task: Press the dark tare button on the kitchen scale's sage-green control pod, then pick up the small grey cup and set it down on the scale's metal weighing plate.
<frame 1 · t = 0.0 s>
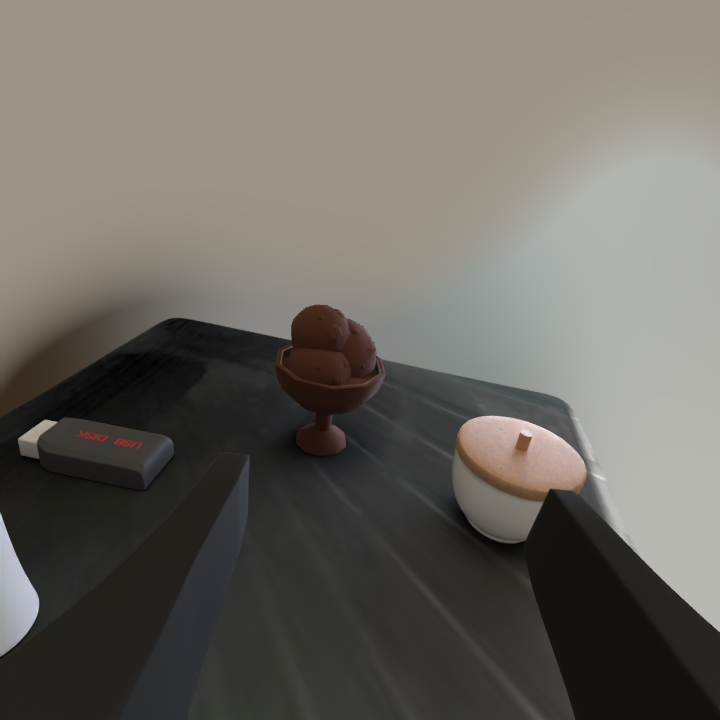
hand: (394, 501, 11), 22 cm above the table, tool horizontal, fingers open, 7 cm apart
ice cream bowl: (320, 441, 50), on the table
usb drive: (97, 461, 43), on the table
trinket box: (496, 519, 43), on the table
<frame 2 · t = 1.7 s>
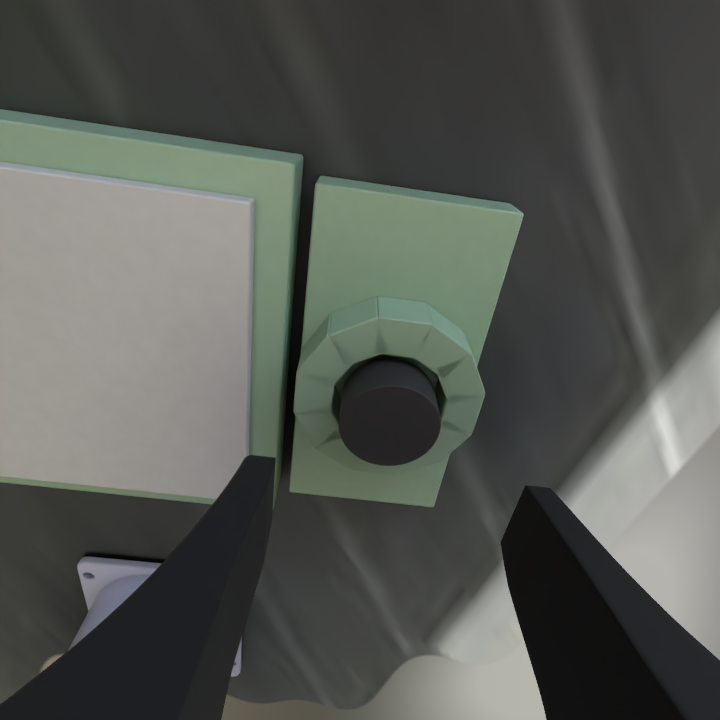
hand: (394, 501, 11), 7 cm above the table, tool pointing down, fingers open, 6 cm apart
scale: (108, 322, 17), on the table
tare button: (388, 412, 14), point 3 cm above the table, slide at 0.1 cm
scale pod: (384, 357, 17), on the table
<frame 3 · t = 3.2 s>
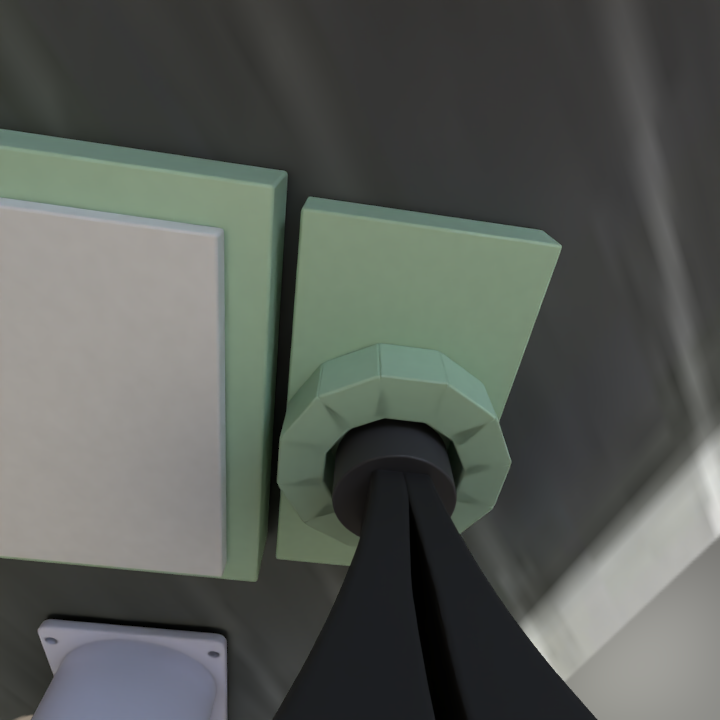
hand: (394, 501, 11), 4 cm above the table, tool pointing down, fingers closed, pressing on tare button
scale: (59, 367, 14), on the table
tare button: (392, 480, 12), point 3 cm above the table, slide at -0.1 cm, touching gripper
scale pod: (387, 406, 15), on the table
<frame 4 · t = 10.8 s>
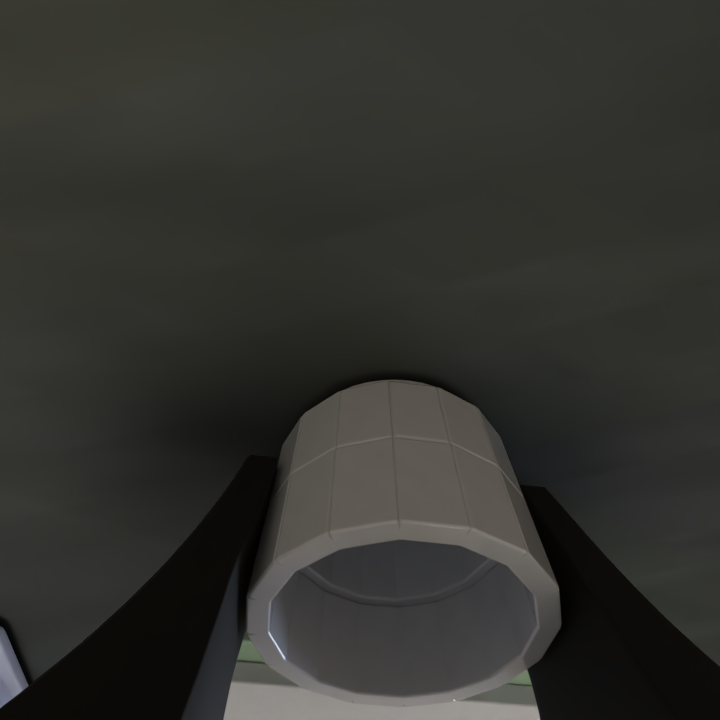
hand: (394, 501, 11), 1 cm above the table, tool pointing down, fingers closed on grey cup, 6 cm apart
grey cup: (390, 461, 12), on the table, touching gripper
scale: (364, 690, 18), on the table
when the fingers open (4 cm above the table, at t = 14.8 s): grey cup stays where it is, resting on scale.
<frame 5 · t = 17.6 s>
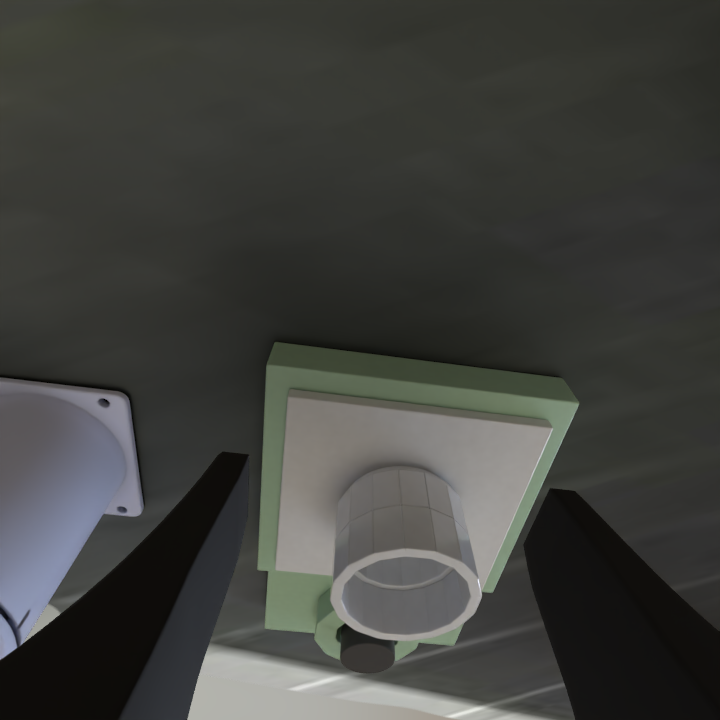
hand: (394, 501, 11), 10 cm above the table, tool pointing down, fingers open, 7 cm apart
grey cup: (398, 507, 22), point 3 cm above the table, touching scale
scale: (395, 468, 24), on the table
tare button: (367, 644, 26), point 3 cm above the table, slide at 0.1 cm
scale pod: (367, 587, 29), on the table
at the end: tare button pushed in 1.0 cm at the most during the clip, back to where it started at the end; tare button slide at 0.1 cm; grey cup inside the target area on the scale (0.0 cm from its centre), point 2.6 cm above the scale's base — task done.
